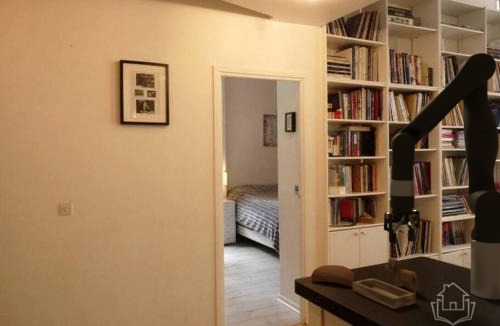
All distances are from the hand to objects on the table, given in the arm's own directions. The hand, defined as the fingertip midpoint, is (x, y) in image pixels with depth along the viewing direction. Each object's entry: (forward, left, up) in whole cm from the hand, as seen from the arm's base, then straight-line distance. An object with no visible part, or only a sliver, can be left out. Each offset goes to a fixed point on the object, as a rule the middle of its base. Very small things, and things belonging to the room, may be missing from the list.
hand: (402, 242), depth 128 cm
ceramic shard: (+12, -18, -16) cm, 27 cm away
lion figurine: (0, +1, -16) cm, 16 cm away
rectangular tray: (+11, +3, -15) cm, 19 cm away
